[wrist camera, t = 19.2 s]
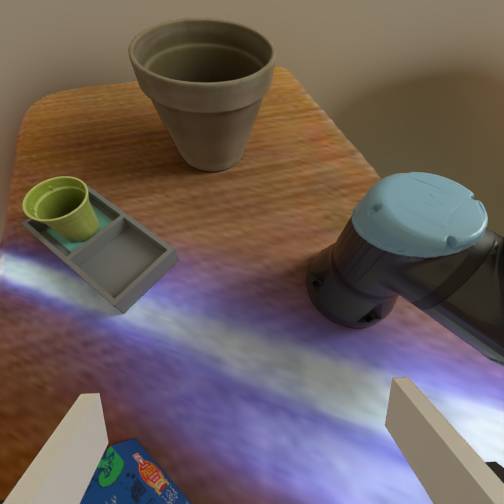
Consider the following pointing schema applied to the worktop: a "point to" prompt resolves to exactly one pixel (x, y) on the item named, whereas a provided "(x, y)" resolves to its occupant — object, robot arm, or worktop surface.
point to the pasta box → (131, 479)
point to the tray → (112, 253)
